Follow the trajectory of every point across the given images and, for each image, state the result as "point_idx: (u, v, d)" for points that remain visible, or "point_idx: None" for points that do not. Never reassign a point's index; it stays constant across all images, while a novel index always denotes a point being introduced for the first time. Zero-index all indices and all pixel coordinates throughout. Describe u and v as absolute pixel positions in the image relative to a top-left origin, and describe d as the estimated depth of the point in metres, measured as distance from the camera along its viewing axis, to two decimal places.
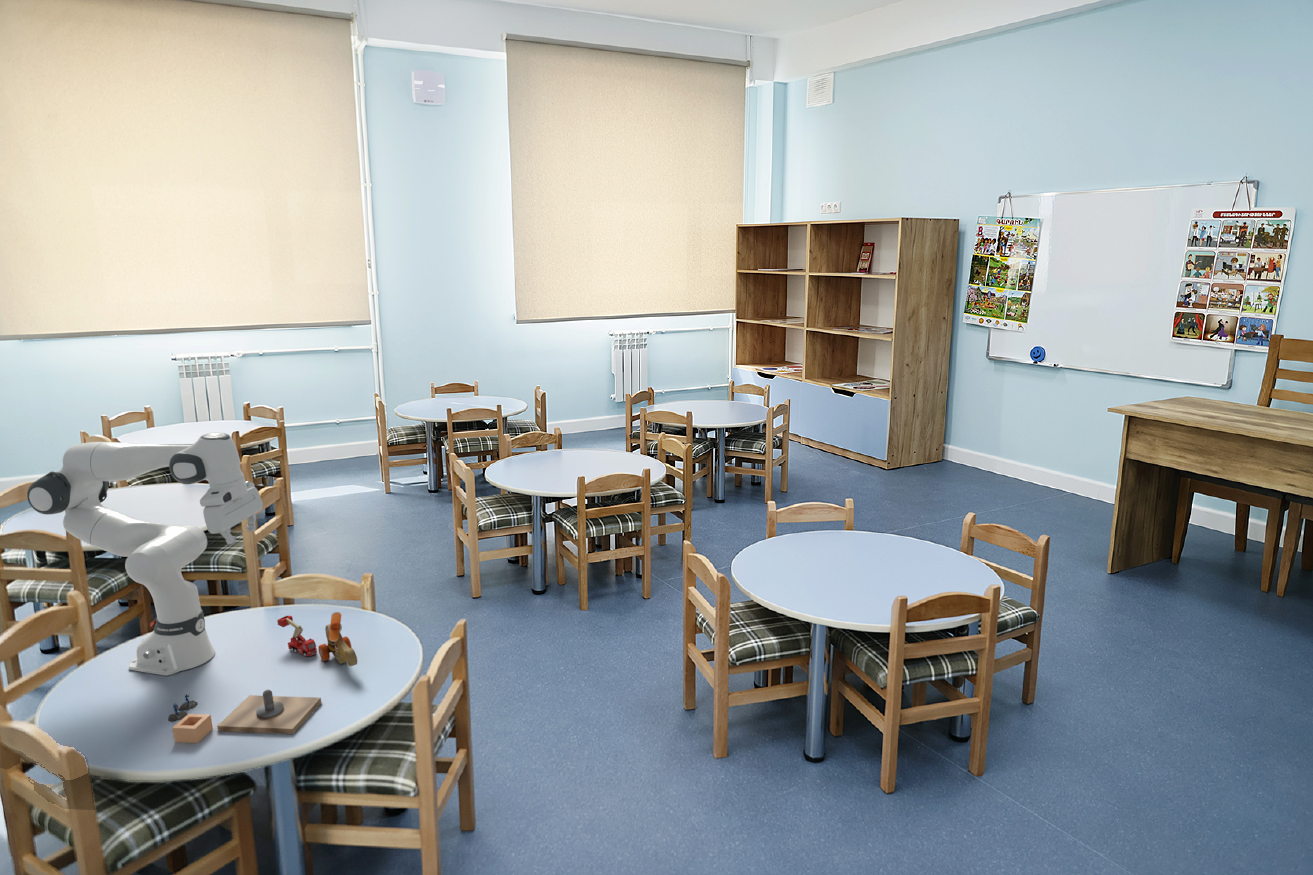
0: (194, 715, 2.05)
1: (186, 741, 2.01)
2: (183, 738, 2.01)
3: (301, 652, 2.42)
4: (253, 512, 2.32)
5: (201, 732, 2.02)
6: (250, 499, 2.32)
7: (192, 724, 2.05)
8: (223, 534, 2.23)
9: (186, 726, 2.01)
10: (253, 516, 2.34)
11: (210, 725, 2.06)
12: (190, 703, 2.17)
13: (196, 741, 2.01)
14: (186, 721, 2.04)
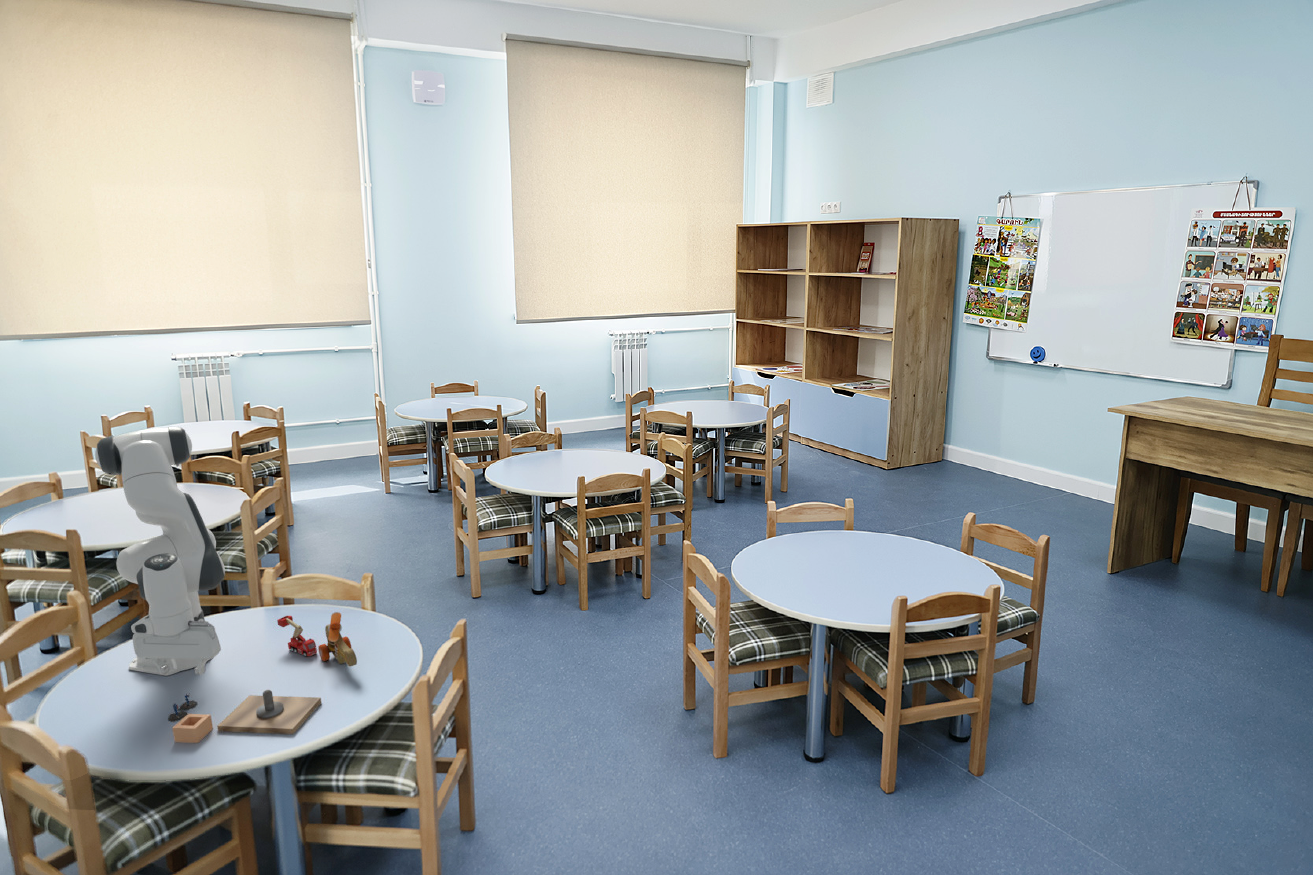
0: (194, 715, 2.05)
1: (186, 741, 2.01)
2: (183, 738, 2.01)
3: (301, 652, 2.42)
4: (192, 657, 1.96)
5: (201, 732, 2.02)
6: (192, 642, 1.95)
7: (192, 724, 2.05)
8: None
9: (186, 726, 2.01)
10: (198, 660, 1.97)
11: (210, 725, 2.06)
12: (190, 703, 2.17)
13: (196, 741, 2.01)
14: (186, 721, 2.04)
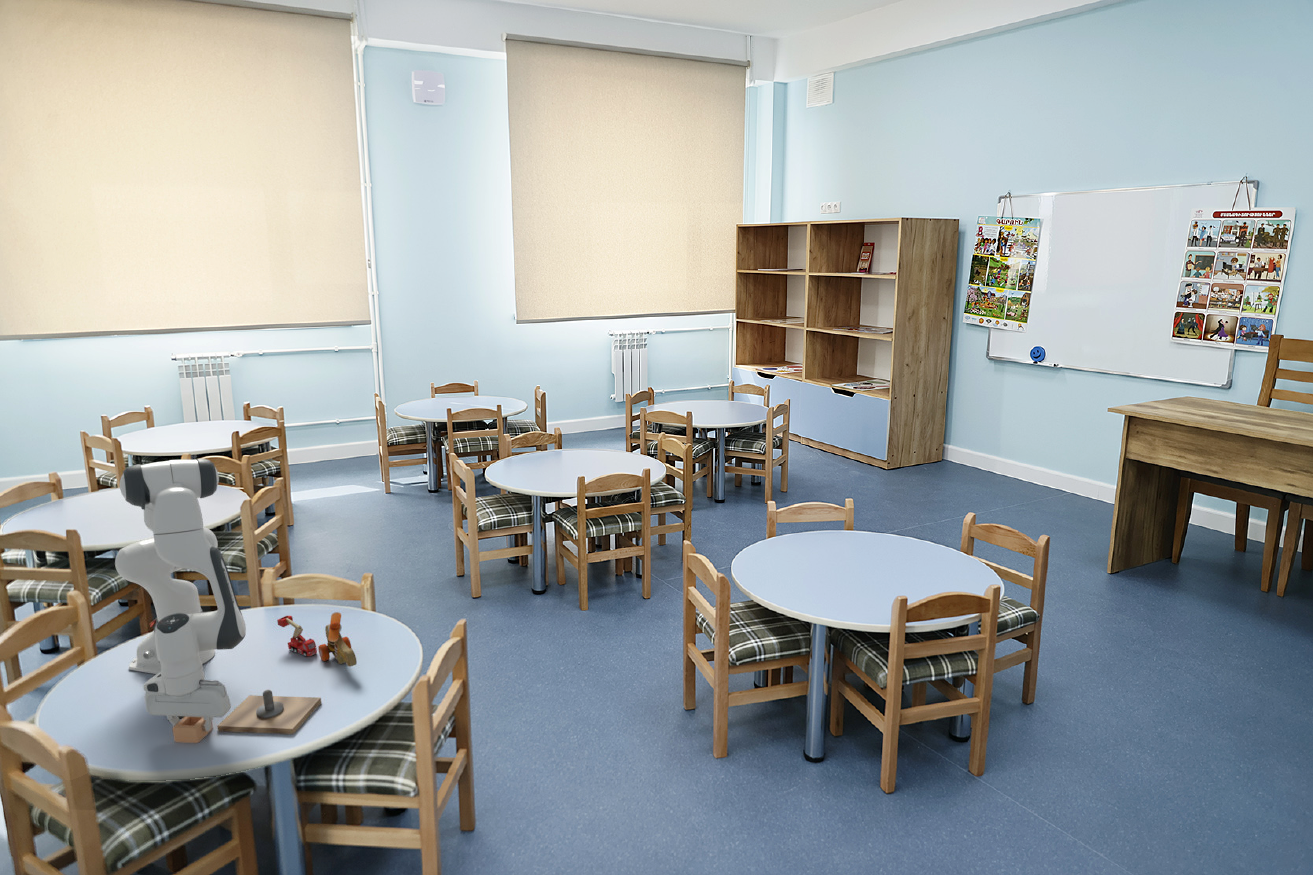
0: None
1: (186, 741, 2.01)
2: (183, 738, 2.01)
3: (301, 652, 2.42)
4: (203, 715, 2.00)
5: (201, 732, 2.02)
6: (203, 701, 1.99)
7: (192, 724, 2.05)
8: None
9: (186, 726, 2.01)
10: (204, 718, 2.01)
11: None
12: None
13: (196, 741, 2.01)
14: (186, 721, 2.04)
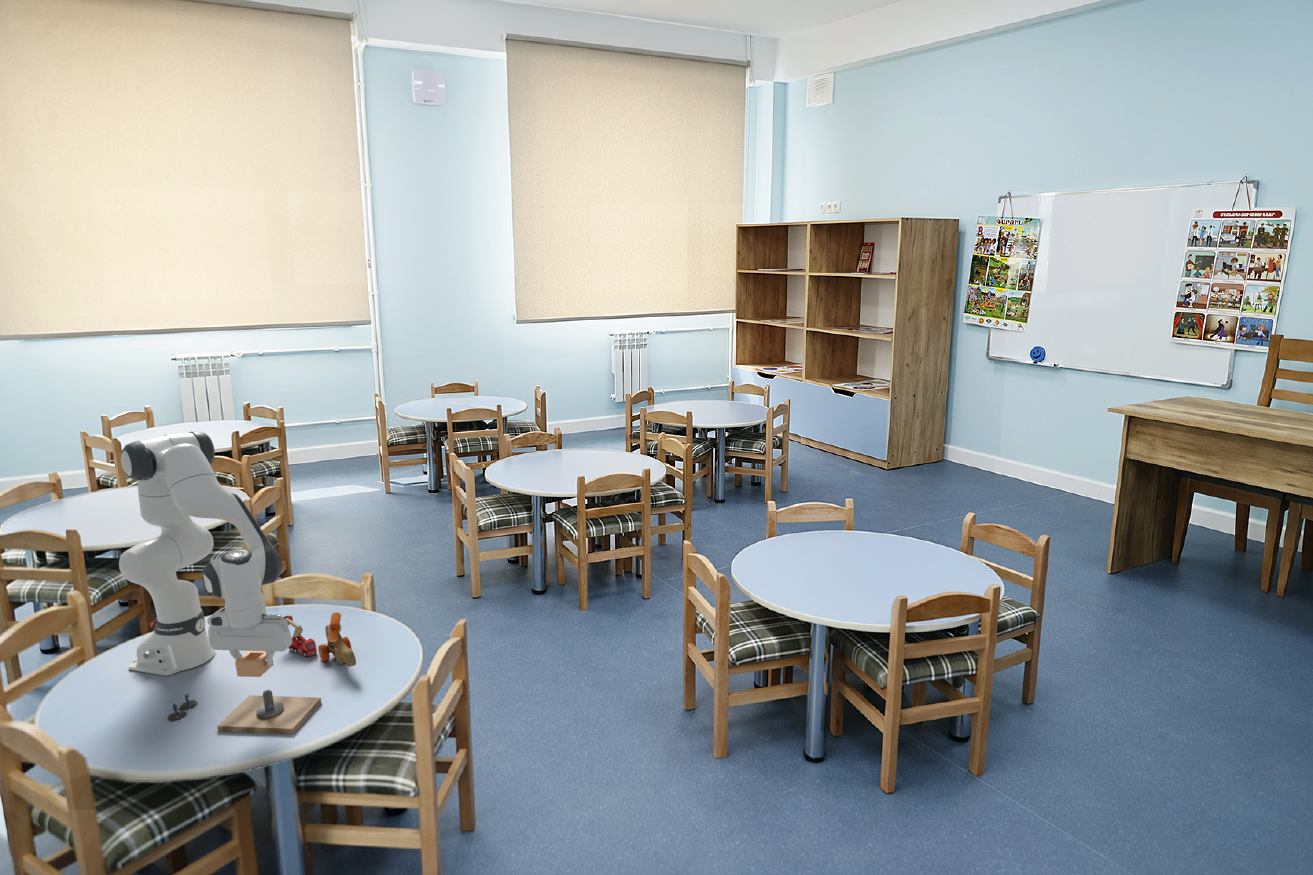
0: (255, 651, 2.08)
1: (248, 675, 2.04)
2: (246, 672, 2.03)
3: (301, 652, 2.42)
4: (265, 649, 2.03)
5: (263, 667, 2.05)
6: (266, 635, 2.02)
7: (253, 660, 2.08)
8: None
9: (248, 660, 2.03)
10: (267, 652, 2.04)
11: None
12: (190, 703, 2.18)
13: (258, 675, 2.03)
14: (248, 656, 2.07)
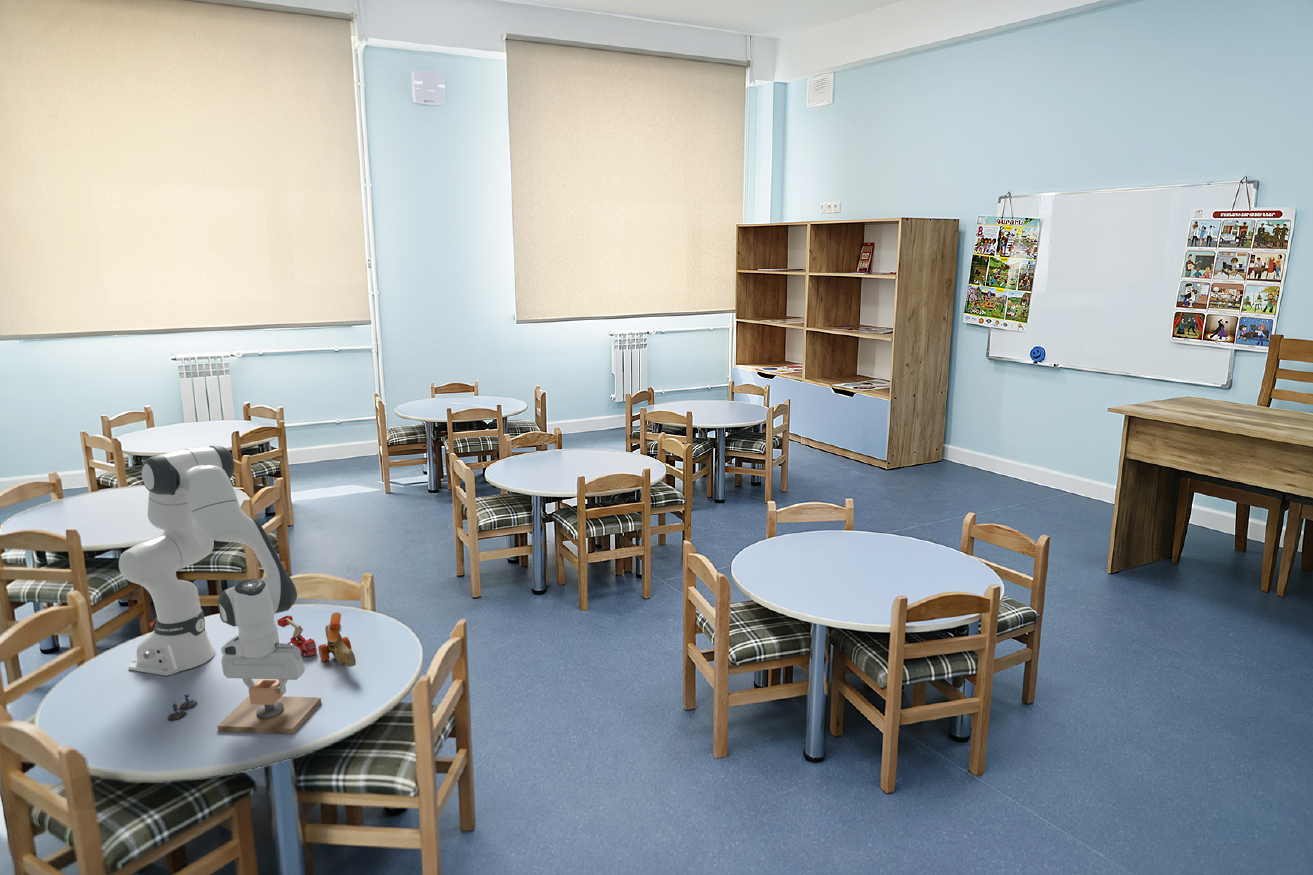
0: (268, 679, 2.11)
1: (262, 703, 2.07)
2: (259, 700, 2.06)
3: (301, 652, 2.42)
4: (278, 677, 2.06)
5: (276, 694, 2.08)
6: (279, 664, 2.05)
7: (266, 687, 2.11)
8: None
9: (262, 688, 2.06)
10: (280, 680, 2.07)
11: None
12: (190, 703, 2.18)
13: (272, 703, 2.06)
14: (261, 684, 2.10)
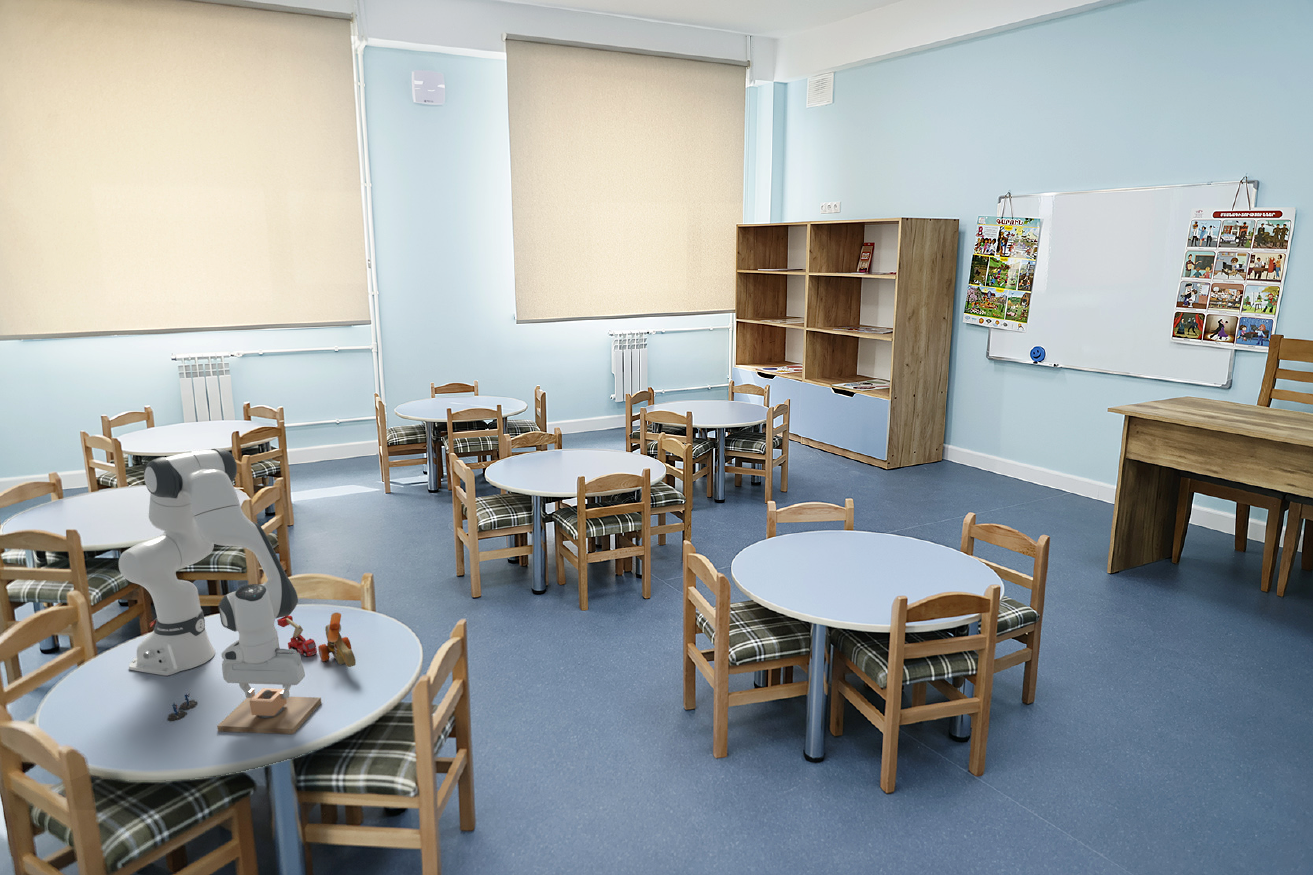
0: (269, 689, 2.12)
1: (263, 714, 2.07)
2: (260, 711, 2.07)
3: (301, 652, 2.42)
4: (279, 682, 2.06)
5: (277, 705, 2.09)
6: (279, 669, 2.05)
7: None
8: None
9: (263, 699, 2.07)
10: (283, 686, 2.07)
11: (284, 699, 2.12)
12: (190, 703, 2.18)
13: (272, 714, 2.07)
14: (262, 695, 2.10)
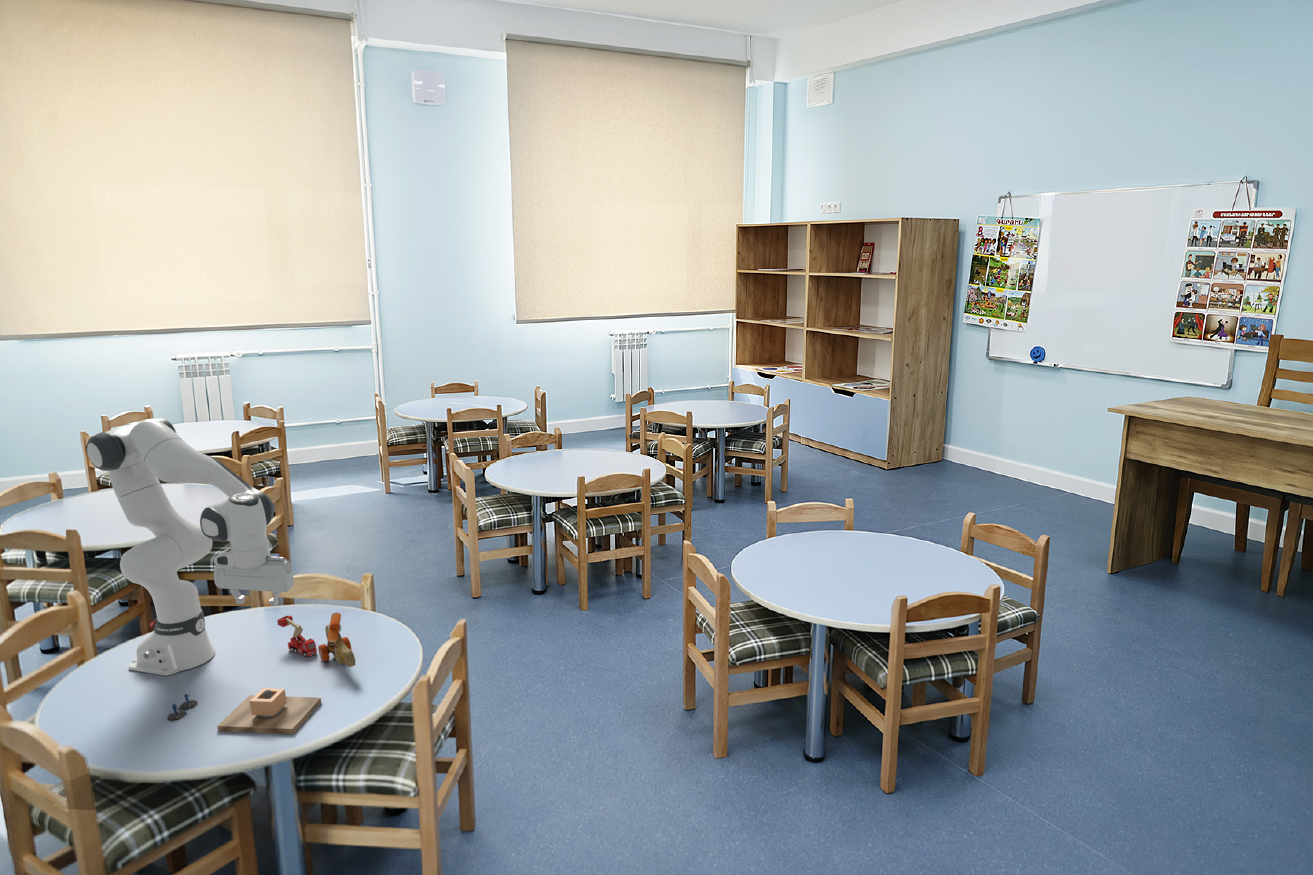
0: (269, 689, 2.12)
1: (263, 714, 2.07)
2: (260, 711, 2.07)
3: (301, 652, 2.42)
4: (268, 589, 2.11)
5: (277, 705, 2.09)
6: (269, 576, 2.11)
7: None
8: None
9: (263, 699, 2.07)
10: (273, 593, 2.12)
11: (284, 699, 2.12)
12: (190, 703, 2.18)
13: (272, 714, 2.07)
14: (262, 695, 2.10)
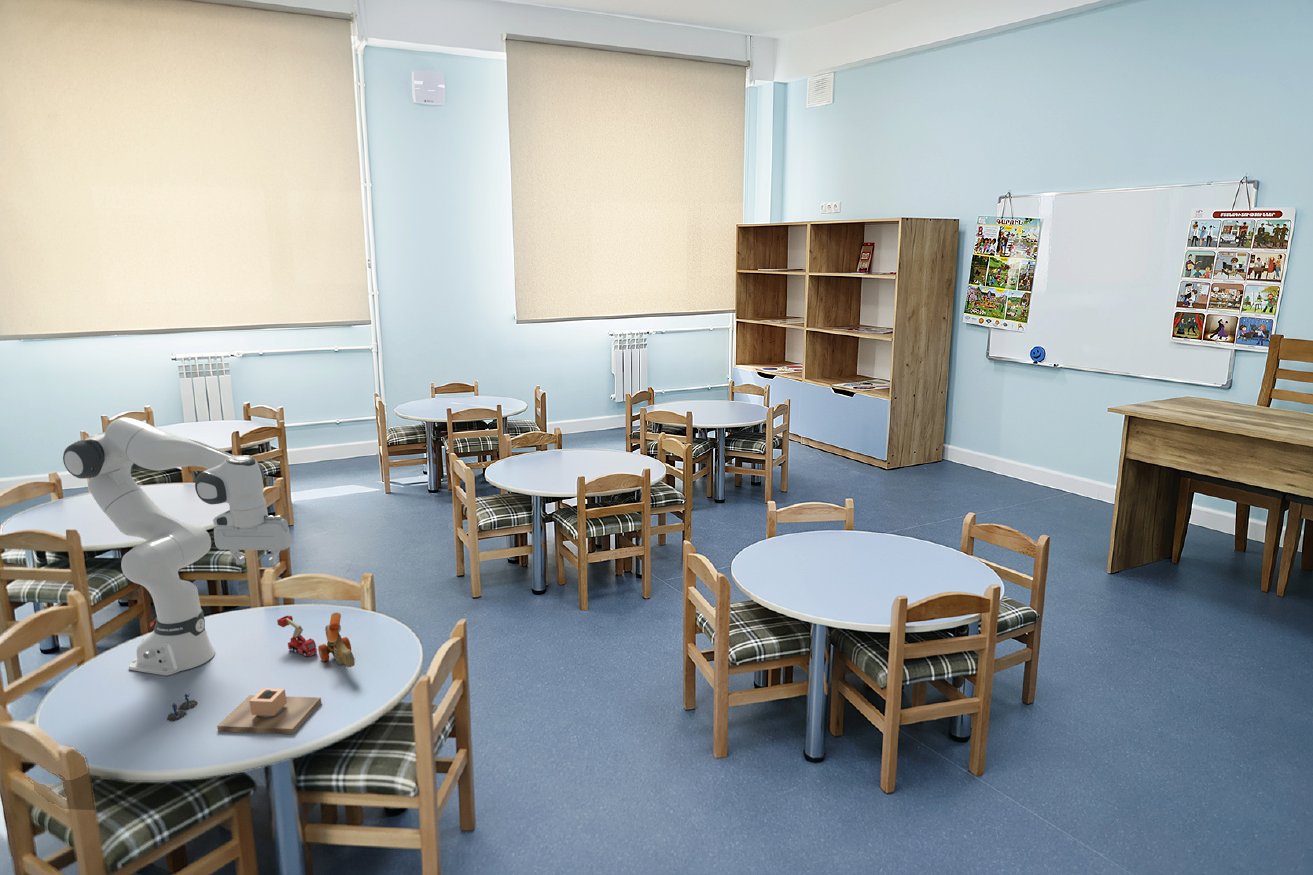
0: (269, 689, 2.12)
1: (263, 714, 2.07)
2: (260, 711, 2.07)
3: (301, 652, 2.42)
4: (267, 548, 2.19)
5: (277, 705, 2.09)
6: (267, 534, 2.18)
7: None
8: None
9: (263, 699, 2.07)
10: (272, 551, 2.20)
11: (284, 699, 2.12)
12: (190, 703, 2.18)
13: (272, 714, 2.07)
14: (262, 695, 2.10)
